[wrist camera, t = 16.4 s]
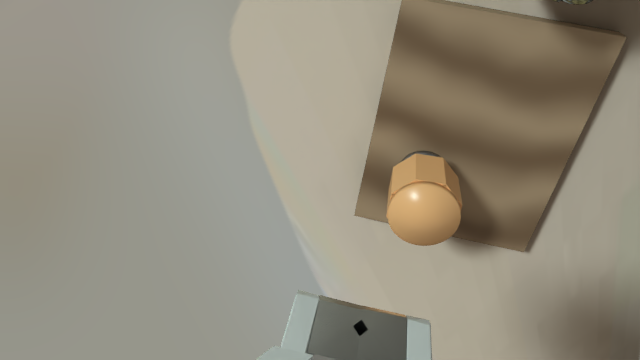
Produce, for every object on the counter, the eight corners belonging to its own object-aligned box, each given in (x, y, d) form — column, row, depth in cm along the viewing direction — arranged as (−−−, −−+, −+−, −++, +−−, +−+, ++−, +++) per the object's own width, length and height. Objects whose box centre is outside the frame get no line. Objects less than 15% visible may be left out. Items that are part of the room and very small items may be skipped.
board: (403, -7, 36) (403, -4, 35) (619, 31, 35) (627, 37, 34) (356, 206, 47) (354, 215, 45) (520, 242, 46) (523, 252, 44)
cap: (396, 150, 39) (394, 181, 35) (462, 160, 39) (468, 193, 34) (385, 204, 42) (382, 238, 38) (447, 214, 42) (451, 251, 37)
